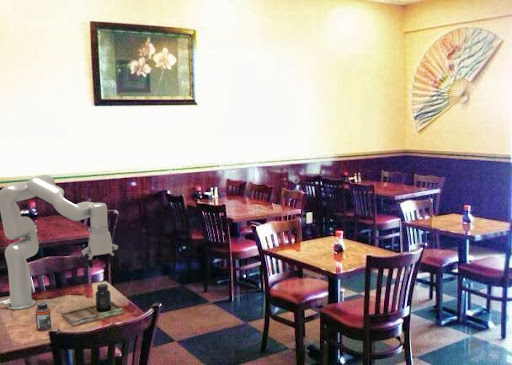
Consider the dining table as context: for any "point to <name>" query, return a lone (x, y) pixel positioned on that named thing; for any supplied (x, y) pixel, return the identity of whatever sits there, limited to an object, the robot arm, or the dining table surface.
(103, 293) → the supplement bottle
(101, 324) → the dining table surface
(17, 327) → the dining table surface
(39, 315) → the supplement bottle
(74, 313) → the socket board
